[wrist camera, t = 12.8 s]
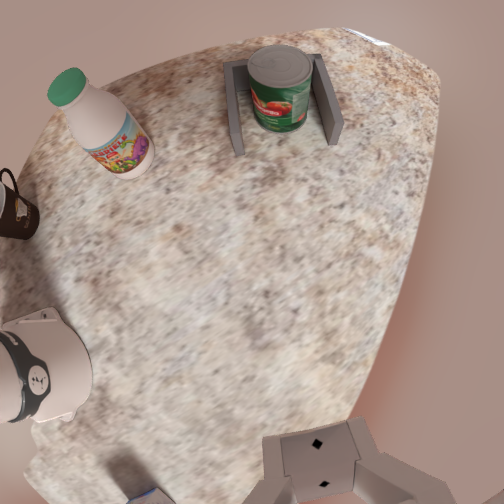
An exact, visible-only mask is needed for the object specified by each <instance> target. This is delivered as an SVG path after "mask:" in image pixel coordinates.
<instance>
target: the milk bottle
mask: <svg viewBox="0 0 504 504" xmlns="http://www.w3.org/2000/svg"><path fill="white" fill-rule="evenodd" d="M47 95H48V98H49V100H50V101H51V102H52V103H53V104H54V105H55V106H56V107H57V108H58V109H61V110H63V112H64V114H65V116H66V119H67V122H68V127H69V130H70V132H71V134H72V136H73V138H74V139H75V140H76V142H77V143H78V144H79V145H80V146H81V147H82V148H83V149H84V150H85V151H86V152H88V153H89V154H90V155H91V156H92V157H93V158H95V159H96V160H97V161H98V162H99V163H100V164H102V165H103V166H104V167H105V168H106V169H108V170H109V171H110V172H111V173H112V174H114V175H115V176H116V177H118V178H120V179H134V178H136V177H138V176H140V175H142V174H143V173H144V172H145V171H146V170H147V169H148V168H149V167H150V165H151V163H152V161H153V158H154V152H155V149H154V145H153V142H152V141H151V139H150V138H149V137H148V135H147V134H146V133H145V131H144V130H143V129H142V127H141V126H140V125H139V123H138V122H137V121H136V119H135V118H134V117H133V115H132V114H131V113H130V111H129V110H128V109H127V108H126V106H125V105H124V104H123V103H122V102H121V101H120V100H119V99H118V98H117V97H116V96H114V95H113V94H111V93H109V92H107V91H104V90H101V89H98V88H95V87H93V86H91V85H90V84H89V80H88V79H87V78H86V77H85V75H84V74H83V72H82V71H81V70H80V69H78V68H70V69H68V70H65V71H64V72H62V73H61V74H60V75H59V76H57V77H56V79H55V80H54V81H53V82H52V84H51V85H50V87H49V90H48V94H47Z"/></svg>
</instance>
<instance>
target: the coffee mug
mask: <svg viewBox="0 0 504 504" xmlns="http://www.w3.org/2000/svg"><path fill="white" fill-rule="evenodd" d="M3 172H7V173H8V174H9V175H10V177H11V179H12V181H13V185H14V188H15V192H14V191H13V190H12V189H10V188H9V187H7V186H6V185H5V184H3V183H2V178H1V177H2V174H3ZM39 219H40V215H39V210H38V208H37V207H36V206H34V205H33V204H32V203H30V202H29V201H27V200H26V199H24V198H23V197H21V196H20V195H19V192H18V188H17V185H16V181H15V179H14V176H13V174H12V172H11V171H10V170H9V169H7V168H4V169H2V170H1V171H0V236H1V237H8V238H16V239H23V240H27V239H30V238H31V237H32V236H33V235H34V234H35V232H36V230H37V228H38V225H39Z"/></svg>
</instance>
